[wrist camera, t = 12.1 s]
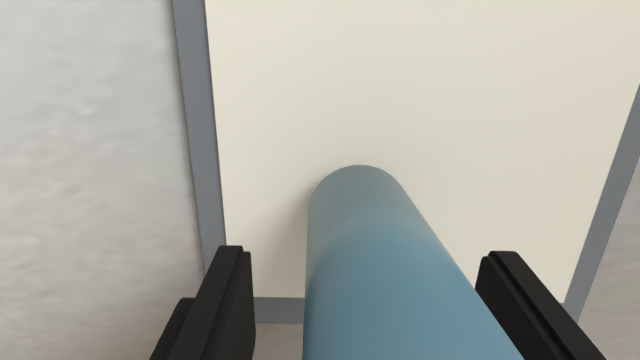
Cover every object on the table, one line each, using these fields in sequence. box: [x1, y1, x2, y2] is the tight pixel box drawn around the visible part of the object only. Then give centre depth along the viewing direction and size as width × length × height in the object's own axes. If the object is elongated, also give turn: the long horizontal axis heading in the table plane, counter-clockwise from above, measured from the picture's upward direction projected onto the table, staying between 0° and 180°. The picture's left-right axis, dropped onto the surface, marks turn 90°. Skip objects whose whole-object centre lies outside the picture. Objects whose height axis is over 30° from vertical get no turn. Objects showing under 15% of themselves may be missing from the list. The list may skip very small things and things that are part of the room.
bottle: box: [302, 165, 524, 360], centre depth 8 cm, size 3×3×11 cm
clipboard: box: [172, 0, 640, 324], centre depth 11 cm, size 20×15×2 cm
